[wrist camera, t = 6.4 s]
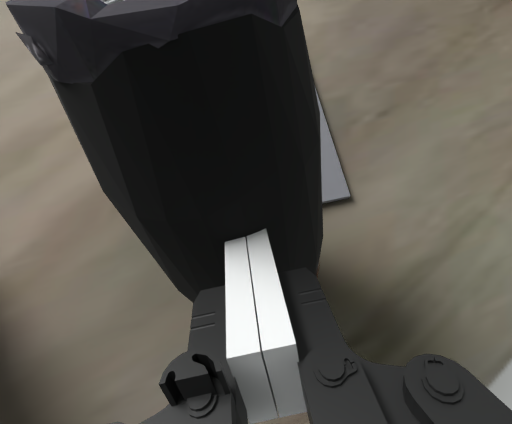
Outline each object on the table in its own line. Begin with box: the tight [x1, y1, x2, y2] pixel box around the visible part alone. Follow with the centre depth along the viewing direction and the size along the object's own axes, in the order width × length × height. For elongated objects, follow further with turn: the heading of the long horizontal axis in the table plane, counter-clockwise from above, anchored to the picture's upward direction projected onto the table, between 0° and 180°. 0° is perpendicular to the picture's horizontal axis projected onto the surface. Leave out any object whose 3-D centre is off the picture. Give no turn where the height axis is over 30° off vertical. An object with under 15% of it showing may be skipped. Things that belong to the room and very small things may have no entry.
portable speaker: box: [6, 0, 323, 303], centre depth 15 cm, size 9×9×20 cm
